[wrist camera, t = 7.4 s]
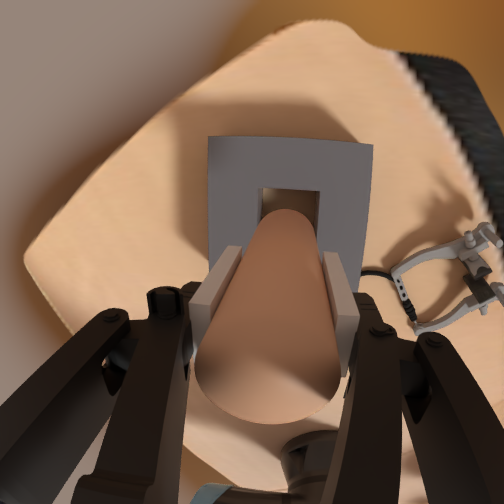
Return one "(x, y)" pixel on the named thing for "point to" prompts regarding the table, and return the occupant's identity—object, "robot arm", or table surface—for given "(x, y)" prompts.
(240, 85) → the table surface
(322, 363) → the peg
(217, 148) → the socket block
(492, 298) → the bike brake
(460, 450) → the robot arm
